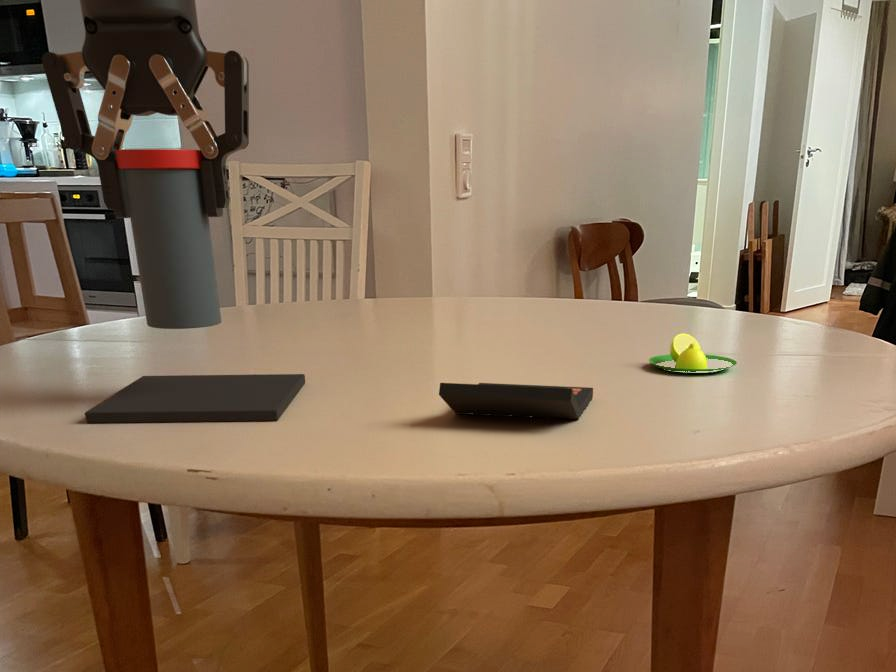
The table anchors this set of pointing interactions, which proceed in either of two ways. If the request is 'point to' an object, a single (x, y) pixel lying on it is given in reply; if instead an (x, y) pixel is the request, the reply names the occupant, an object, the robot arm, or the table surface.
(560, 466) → the table surface
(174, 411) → the mat
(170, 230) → the tumbler
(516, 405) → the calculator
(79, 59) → the robot arm
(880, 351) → the table surface
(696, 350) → the lemon
